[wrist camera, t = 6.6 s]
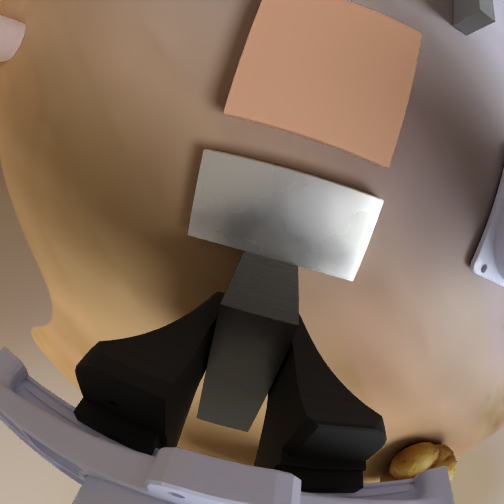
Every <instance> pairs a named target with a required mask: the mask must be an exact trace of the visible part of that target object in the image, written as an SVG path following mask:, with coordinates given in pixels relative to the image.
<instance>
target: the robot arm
mask: <svg viewBox="0 0 504 504" xmlns="http://www.w3.org/2000/svg"><path fill="white" fill-rule="evenodd" d="M483 265H484V266H483ZM482 266H483V268H482ZM470 268H471V270H472V271H473V272H474V273H475V274H477V275H479V276H481V277H484V278H486V279H488V280H490V281H492V282H494V283H496V284H498V285H500V286H502V287H504V169H503V173H502V177H501V181H500V185H499V188H498V192H497V195H496V198H495V202H494V205H493V208H492V211H491V214H490V217H489V219H488V222H487V225H486V228H485V230H484V233H483V235H482V238H481V240H480V243H479V245H478V248H477V250H476V252H475V255H474V257H473V259H472V261H471V264H470ZM481 268H482V269H481ZM224 295H225V293H221V292H216V293H215V294H214V295H213V296H211V297H210V298H209V299H208V300H207V301H205V302H204V303H203V304H201V305H200V306H199V307H197V308H196V309H194V310H193V311H191V312H190V313H188V314H187V315H185V316H183V317H182V318H180V319H178V320H176V321H175V322H173V323H171V324H169V325H166V326H164V327H162V328H159V329H157V330H154V331H151V332H148V333H145V334H142V335H138V336H134V337H129V338H124V339H118V340H109V341H99V342H98V343H97V344H96V345H95V346H94V347H92V348H91V349H90V351H89V352H88V353H87V354H86V355H85V356H84V357H83V359H82V360H81V361H80V362H79V363H78V365H77V366H76V369H75V372H76V377H77V381H78V384H79V386H80V389H81V392H82V395H83V399H82V400H81V401H80V403H79V404H78V406H77V407H76V408H75V407H73V406H72V405H70V404H68V403H67V402H65V401H64V400H62V399H61V398H59V397H58V396H56V395H55V394H53V393H52V392H51V391H49V390H48V389H46V388H45V387H43V386H42V385H41V384H39V383H38V382H37V381H35V380H34V379H33V378H32V377H30V376H29V375H28V372H27V370H26V368H25V366H24V364H23V363H22V361H21V360H20V359H19V358H17V357H16V356H15V355H14V354H13V353H12V352H10V351H9V350H8V349H7V348H5V347H4V348H3V349H2V350H0V420H1V421H2V422H3V423H4V424H6V425H7V426H8V427H9V428H10V429H11V430H12V431H13V432H14V433H15V434H16V435H17V436H18V437H19V438H20V439H22V440H23V441H24V442H25V443H26V444H27V445H28V446H30V447H31V448H32V449H33V450H35V451H36V452H37V453H38V454H39V455H41V456H42V457H43V458H44V459H46V460H47V461H48V462H49V463H51V464H52V465H53V466H55V467H56V468H58V469H59V470H61V471H62V472H63V473H65V474H66V475H68V476H69V477H70V478H72V479H74V480H75V481H77V482H78V483H80V484H81V485H82V486H81V488H80V490H79V492H78V494H77V496H76V497H75V500H74V501H73V503H72V504H455V503H454V498H453V492H452V488H451V483H450V479H449V474H448V470H447V466H442V467H438V468H432V469H428V470H426V471H423V472H421V473H420V474H418V475H417V476H416V477H415V478H412V479H405V480H397V481H388V482H376V483H363V473H362V471H364V470H366V460H367V459H369V458H370V457H371V456H372V455H374V454H375V453H376V452H377V451H379V450H380V449H381V448H382V446H383V445H384V444H385V442H386V440H387V439H386V432H385V426H384V422H383V418H382V416H381V415H379V414H378V413H376V412H375V411H374V410H372V409H371V408H369V407H368V406H366V405H365V404H364V403H363V402H361V401H360V400H359V399H358V398H357V397H356V396H354V395H353V394H352V393H351V392H350V391H349V390H348V389H347V388H346V387H345V386H344V385H343V384H342V383H341V382H340V380H339V379H338V378H337V377H336V376H335V375H334V373H333V372H332V371H331V370H330V368H329V367H328V366H327V364H326V363H325V361H324V360H323V358H322V357H321V355H320V354H319V352H318V350H317V349H316V347H315V345H314V343H313V341H312V339H311V338H310V336H309V333H308V331H307V329H306V327H305V325H304V323H303V321H302V318H301V316H300V314H299V326H298V328H297V331H296V333H295V335H294V338H293V340H292V342H291V344H290V347H289V349H288V351H287V353H286V356H285V358H284V360H283V362H282V364H281V366H280V369H279V371H278V373H277V375H276V377H275V379H274V381H273V383H272V385H271V387H270V389H269V392H268V401H267V409H266V415H265V420H264V425H263V429H262V434H261V439H260V443H259V447H258V451H257V455H256V459H255V463H254V466H251V465H246V464H241V463H236V462H232V461H228V460H224V459H220V458H216V457H212V456H209V455H205V454H202V453H198V452H195V451H191V450H187V449H182V448H178V447H177V444H178V441H179V438H180V435H181V432H182V429H183V426H184V423H185V420H186V418H187V415H188V412H189V409H190V406H191V403H192V401H193V398H194V395H195V392H196V390H197V387H198V385H199V383H200V381H201V379H202V377H203V375H204V373H205V371H206V369H207V364H208V359H209V354H210V350H211V345H212V340H213V335H214V331H215V326H216V321H217V317H218V312H219V307H220V303H221V301H222V299H223V297H224Z"/></svg>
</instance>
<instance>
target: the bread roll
mask: <svg viewBox="0 0 504 504" xmlns="http://www.w3.org/2000/svg"><path fill="white" fill-rule="evenodd" d="M456 462H457V461H456V459H455V456H454V454H453V451H452V450H451V449H450V448H449V447H448V446H446V445H441V444H438V445H434V444H432V443H430V442H421V443H417V444H414V445H411V446H409V447H407V448H405V449H403V450H402V451H400V452H399V453H398V454H396V455H395V456H394V458H393V459H392V462H391V465H390V466H389V467H388V468H387V469H386V470H384V472H383V473H382V476H381V478H380V482H388V481H397V480H405V479H412V478H415V477H416V476H417V475H418V474H420V473H421V472H423V471H426V470H428V469H432V468H438V467H442V466H447V470H448V474H449V479H450V482H451V480H452V478H453V475H454V471H455V466H456Z"/></svg>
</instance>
